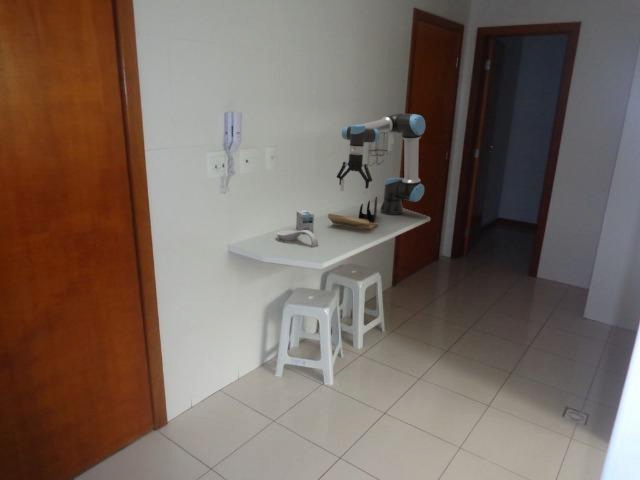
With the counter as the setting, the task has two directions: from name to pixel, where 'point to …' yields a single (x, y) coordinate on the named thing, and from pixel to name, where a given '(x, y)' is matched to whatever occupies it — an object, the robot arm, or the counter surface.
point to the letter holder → (369, 215)
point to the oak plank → (350, 221)
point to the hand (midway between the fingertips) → (353, 192)
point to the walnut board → (374, 225)
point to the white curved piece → (296, 235)
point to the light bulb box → (304, 220)
